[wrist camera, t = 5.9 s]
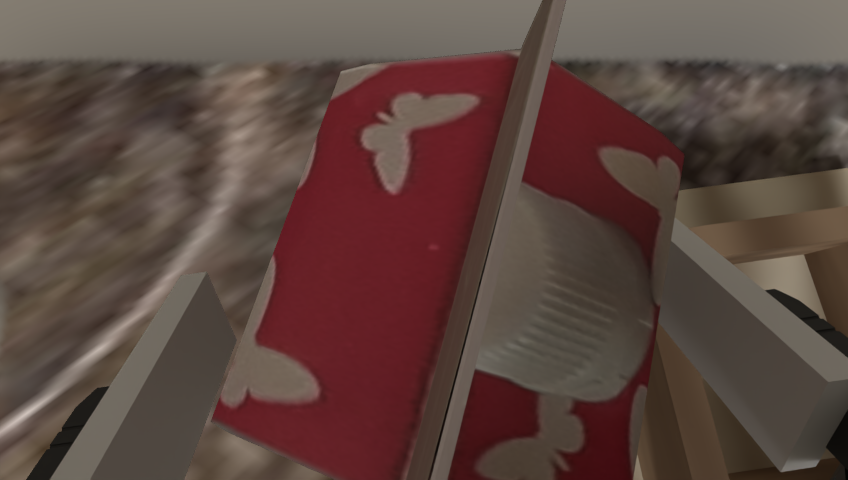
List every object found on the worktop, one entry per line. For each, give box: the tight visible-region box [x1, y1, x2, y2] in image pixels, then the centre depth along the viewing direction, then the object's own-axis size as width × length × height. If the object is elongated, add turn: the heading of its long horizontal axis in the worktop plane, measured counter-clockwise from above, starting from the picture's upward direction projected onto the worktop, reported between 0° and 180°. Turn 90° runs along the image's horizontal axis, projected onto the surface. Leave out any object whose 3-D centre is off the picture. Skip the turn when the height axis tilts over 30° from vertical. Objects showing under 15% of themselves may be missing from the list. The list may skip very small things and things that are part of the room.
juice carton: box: [211, 0, 685, 480], centre depth 15 cm, size 7×7×22 cm
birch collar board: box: [633, 168, 848, 480], centre depth 22 cm, size 20×20×6 cm
